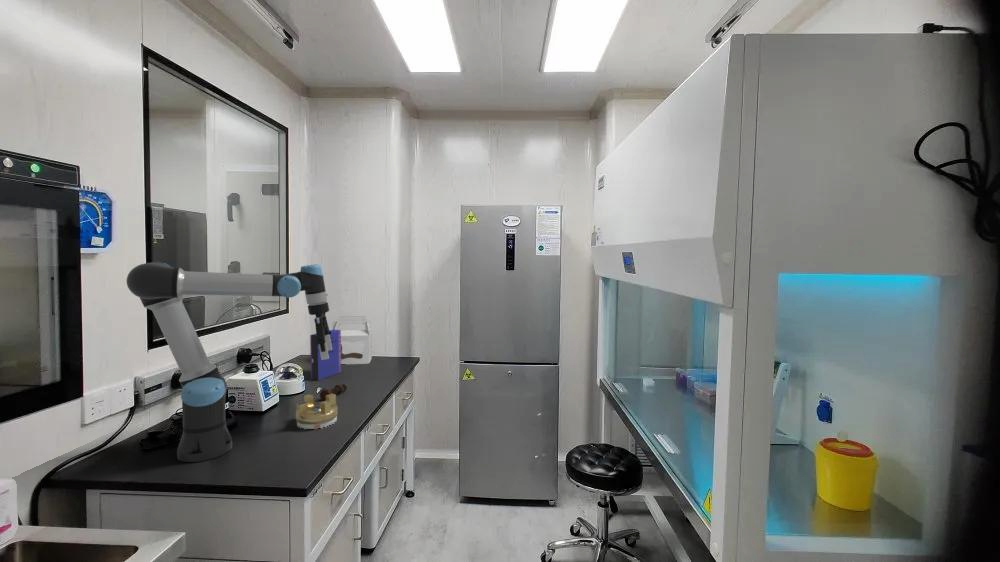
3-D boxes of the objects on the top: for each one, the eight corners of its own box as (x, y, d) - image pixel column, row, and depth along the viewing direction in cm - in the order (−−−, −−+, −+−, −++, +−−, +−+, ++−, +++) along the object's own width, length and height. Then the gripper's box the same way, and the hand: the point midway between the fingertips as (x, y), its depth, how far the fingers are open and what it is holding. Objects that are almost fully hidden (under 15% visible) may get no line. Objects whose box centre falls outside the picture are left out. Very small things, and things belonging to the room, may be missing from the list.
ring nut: (310, 427, 158) (310, 408, 157) (287, 418, 166) (287, 400, 166) (345, 414, 170) (345, 397, 170) (322, 407, 179) (322, 390, 178)
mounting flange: (311, 432, 158) (311, 427, 158) (289, 424, 166) (289, 418, 166) (344, 420, 170) (344, 415, 170) (322, 412, 178) (322, 408, 178)
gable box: (372, 358, 272) (371, 314, 270) (369, 363, 259) (369, 317, 257) (335, 359, 268) (334, 315, 266) (330, 365, 255) (330, 318, 253)
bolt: (345, 394, 207) (326, 404, 193) (337, 389, 208) (317, 397, 194) (351, 385, 207) (331, 393, 192) (343, 379, 208) (323, 387, 193)
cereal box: (334, 371, 241) (333, 329, 240) (341, 372, 239) (340, 329, 238) (311, 380, 225) (310, 334, 223) (318, 381, 223) (317, 335, 222)
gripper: (324, 306, 159) (334, 361, 162) (330, 297, 183) (339, 345, 186) (302, 310, 157) (312, 365, 160) (311, 300, 181) (320, 348, 184)
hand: (327, 354), depth 173 cm, fingers open, 13 cm apart
